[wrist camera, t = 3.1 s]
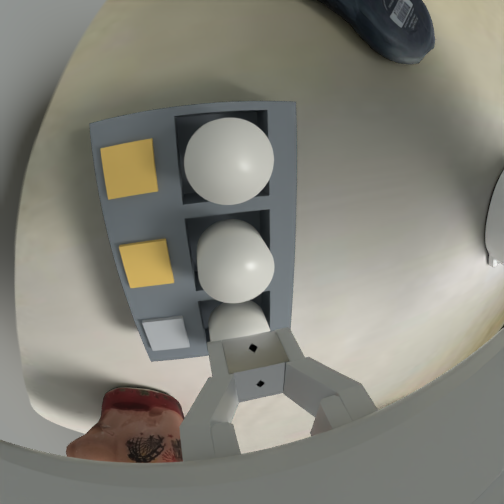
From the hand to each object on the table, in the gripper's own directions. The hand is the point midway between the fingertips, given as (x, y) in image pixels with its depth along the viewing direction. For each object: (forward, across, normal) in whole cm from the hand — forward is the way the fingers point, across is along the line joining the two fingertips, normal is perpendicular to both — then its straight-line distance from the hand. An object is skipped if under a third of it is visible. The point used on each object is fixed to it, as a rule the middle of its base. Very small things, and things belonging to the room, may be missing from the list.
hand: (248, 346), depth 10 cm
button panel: (+11, +1, 0) cm, 11 cm away
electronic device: (+11, -12, -20) cm, 26 cm away
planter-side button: (+8, -1, +5) cm, 9 cm away
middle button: (+8, -1, 0) cm, 8 cm away
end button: (+7, -1, -6) cm, 9 cm away
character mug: (+12, +10, +21) cm, 26 cm away
